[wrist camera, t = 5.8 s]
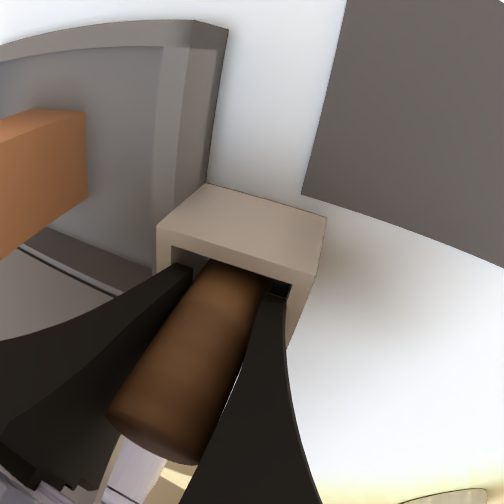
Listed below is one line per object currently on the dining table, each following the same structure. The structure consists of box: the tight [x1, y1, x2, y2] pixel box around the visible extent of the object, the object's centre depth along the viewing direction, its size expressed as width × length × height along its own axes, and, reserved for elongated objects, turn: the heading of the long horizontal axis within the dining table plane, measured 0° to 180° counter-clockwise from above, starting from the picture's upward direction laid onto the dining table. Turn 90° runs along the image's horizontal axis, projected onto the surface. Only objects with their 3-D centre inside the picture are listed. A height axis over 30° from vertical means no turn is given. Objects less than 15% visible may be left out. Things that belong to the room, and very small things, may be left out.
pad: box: [301, 0, 504, 268], centre depth 7 cm, size 9×9×1 cm
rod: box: [105, 258, 276, 466], centre depth 9 cm, size 2×2×7 cm
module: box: [0, 108, 88, 261], centre depth 10 cm, size 4×4×6 cm
